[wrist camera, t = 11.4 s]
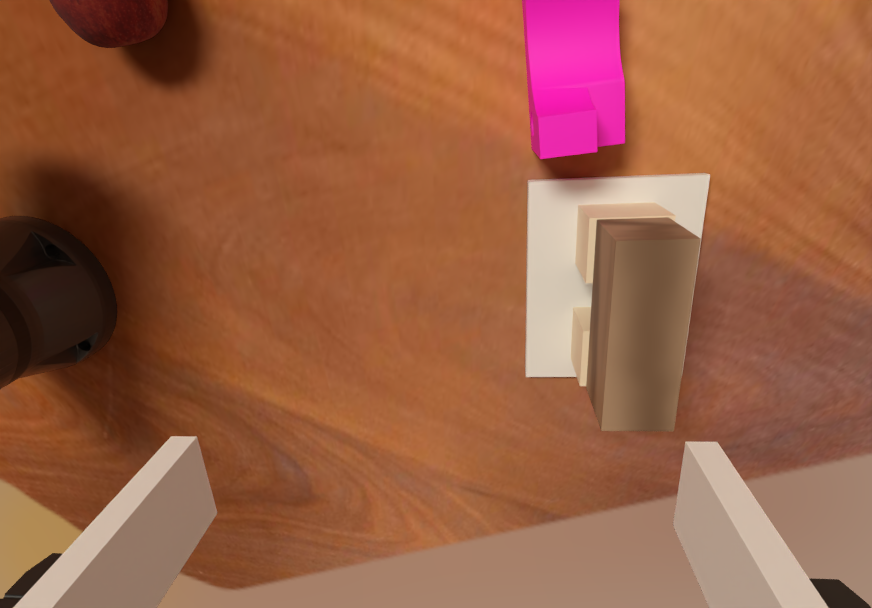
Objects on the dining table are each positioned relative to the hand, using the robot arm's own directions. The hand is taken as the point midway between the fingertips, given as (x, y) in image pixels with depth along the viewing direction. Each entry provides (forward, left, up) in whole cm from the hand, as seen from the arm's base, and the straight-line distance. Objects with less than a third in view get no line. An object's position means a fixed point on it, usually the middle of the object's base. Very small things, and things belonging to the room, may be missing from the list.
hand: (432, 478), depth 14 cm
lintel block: (+12, -6, -27) cm, 30 cm away
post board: (+12, -6, -33) cm, 35 cm away
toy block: (+8, +13, -33) cm, 37 cm away
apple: (-25, +18, -33) cm, 45 cm away
